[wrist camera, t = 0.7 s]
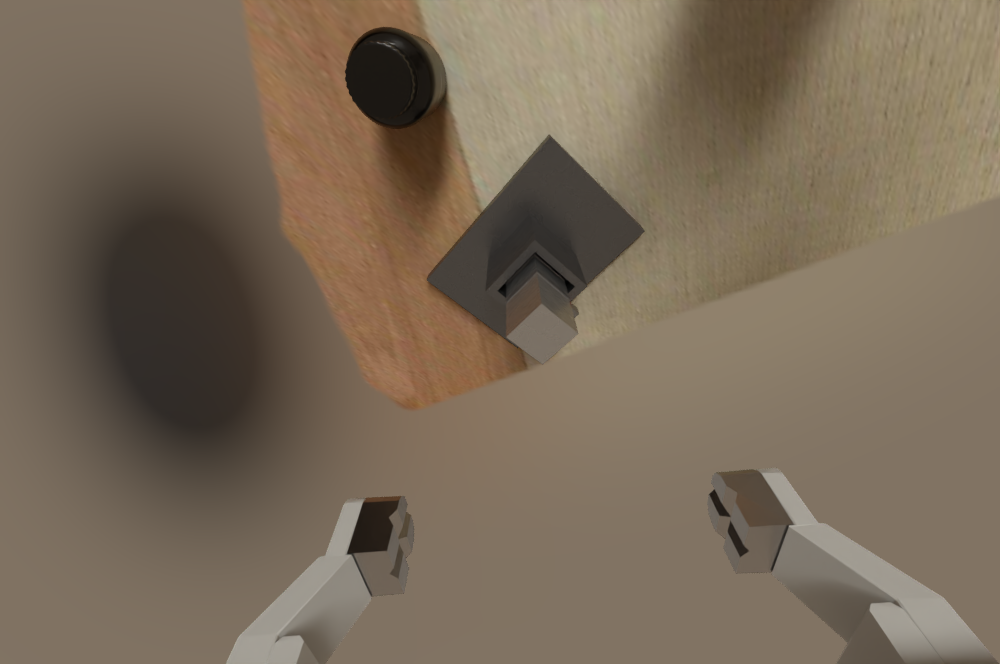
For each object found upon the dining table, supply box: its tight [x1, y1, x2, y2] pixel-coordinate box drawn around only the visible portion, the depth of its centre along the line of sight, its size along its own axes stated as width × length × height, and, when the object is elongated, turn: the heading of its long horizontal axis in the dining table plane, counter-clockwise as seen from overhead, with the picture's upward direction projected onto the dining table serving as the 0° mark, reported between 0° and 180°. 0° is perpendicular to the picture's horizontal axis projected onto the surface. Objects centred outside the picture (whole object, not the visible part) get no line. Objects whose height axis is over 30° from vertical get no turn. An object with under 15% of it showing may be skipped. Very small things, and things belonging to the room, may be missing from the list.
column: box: [505, 252, 578, 364], centre depth 41 cm, size 4×4×16 cm
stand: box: [427, 135, 644, 348], centre depth 45 cm, size 20×14×10 cm
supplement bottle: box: [345, 27, 446, 129], centre depth 35 cm, size 7×7×12 cm
